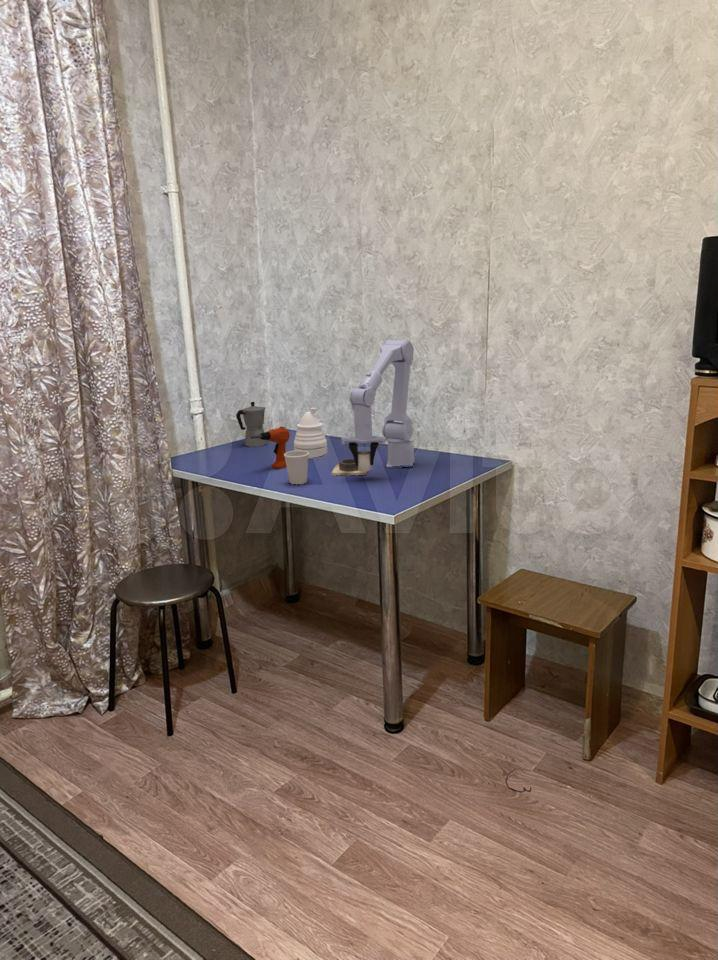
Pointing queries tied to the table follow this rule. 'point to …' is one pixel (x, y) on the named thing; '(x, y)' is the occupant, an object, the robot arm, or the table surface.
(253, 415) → the coffeepot
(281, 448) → the toy drill
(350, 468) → the square plate with ring
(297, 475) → the dixie cup
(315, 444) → the honey pot
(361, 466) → the grey cylinder
